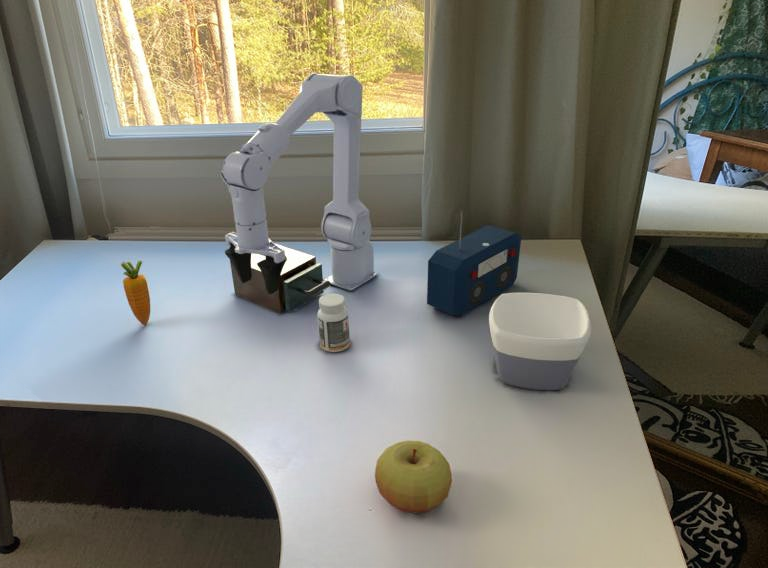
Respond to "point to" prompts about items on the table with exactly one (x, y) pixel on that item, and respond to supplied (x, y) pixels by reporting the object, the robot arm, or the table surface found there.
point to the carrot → (137, 292)
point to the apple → (413, 476)
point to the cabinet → (256, 286)
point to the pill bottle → (333, 323)
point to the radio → (472, 269)
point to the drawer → (302, 286)
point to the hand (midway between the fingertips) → (259, 286)
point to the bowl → (538, 338)
